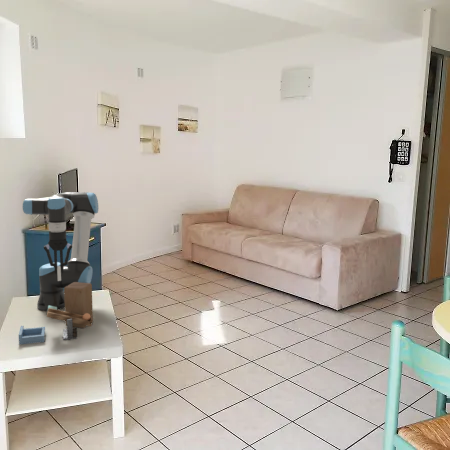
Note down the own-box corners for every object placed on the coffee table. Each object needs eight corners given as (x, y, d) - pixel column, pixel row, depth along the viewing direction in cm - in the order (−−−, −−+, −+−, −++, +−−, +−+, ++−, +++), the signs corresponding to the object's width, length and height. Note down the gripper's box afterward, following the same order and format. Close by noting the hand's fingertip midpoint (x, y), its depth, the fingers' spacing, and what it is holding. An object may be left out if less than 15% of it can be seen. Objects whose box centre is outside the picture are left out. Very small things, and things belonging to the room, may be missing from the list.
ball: (82, 319, 223) (82, 312, 222) (90, 319, 224) (90, 312, 223) (82, 322, 219) (82, 314, 219) (90, 322, 220) (91, 314, 220)
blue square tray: (21, 335, 219) (20, 325, 218) (45, 332, 222) (44, 323, 221) (19, 344, 209) (18, 334, 208) (44, 341, 212) (43, 332, 211)
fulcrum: (63, 340, 214) (62, 321, 213) (63, 330, 225) (62, 312, 223) (77, 338, 216) (76, 319, 215) (76, 329, 226) (76, 311, 225)
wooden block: (83, 329, 227) (82, 289, 223) (64, 327, 229) (63, 287, 225) (93, 321, 237) (92, 282, 233) (75, 319, 239) (73, 281, 235)
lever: (46, 317, 212) (49, 310, 212) (47, 307, 225) (50, 300, 225) (90, 326, 219) (93, 319, 219) (89, 316, 232) (92, 309, 232)
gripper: (42, 232, 214) (44, 283, 218) (72, 231, 218) (74, 281, 222) (42, 229, 221) (44, 278, 225) (72, 228, 225) (73, 276, 229)
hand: (59, 280), depth 224 cm, fingers closed
